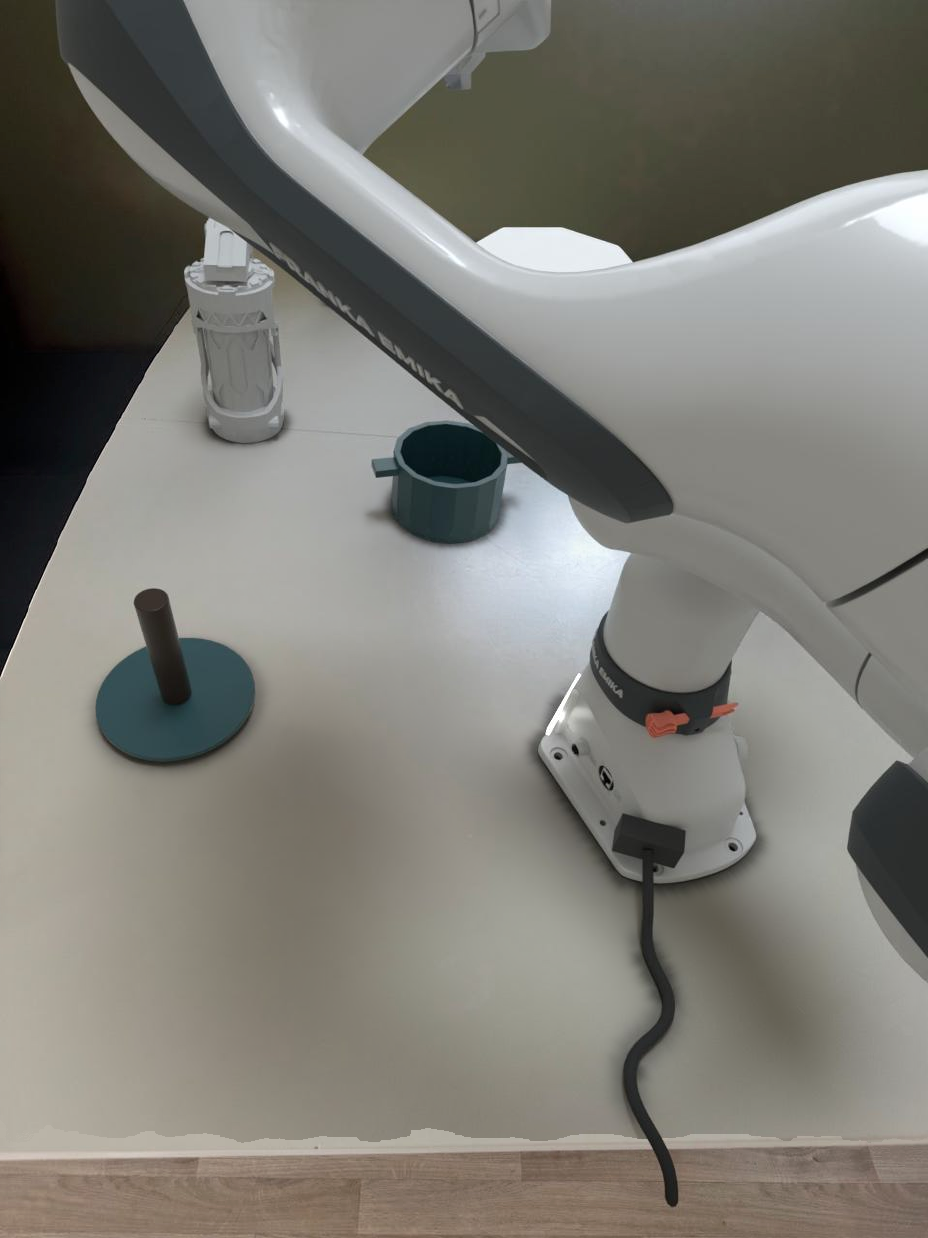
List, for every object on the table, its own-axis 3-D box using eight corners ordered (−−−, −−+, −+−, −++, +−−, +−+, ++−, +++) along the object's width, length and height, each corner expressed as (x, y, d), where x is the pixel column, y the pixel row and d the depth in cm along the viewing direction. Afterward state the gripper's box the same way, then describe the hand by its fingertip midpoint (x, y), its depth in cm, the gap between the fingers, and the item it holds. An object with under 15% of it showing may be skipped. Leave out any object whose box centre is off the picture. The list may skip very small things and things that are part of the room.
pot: (533, 533, 100) (544, 478, 94) (385, 552, 95) (386, 496, 89) (499, 468, 109) (507, 414, 103) (361, 483, 104) (361, 427, 98)
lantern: (285, 444, 108) (269, 258, 90) (205, 444, 106) (173, 254, 88) (286, 393, 117) (273, 213, 99) (213, 392, 115) (185, 209, 97)
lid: (264, 748, 75) (249, 649, 65) (98, 779, 71) (53, 680, 61) (246, 635, 84) (231, 533, 74) (98, 657, 80) (60, 553, 70)
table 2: (621, 424, 119) (650, 317, 107) (437, 393, 121) (446, 284, 108) (624, 337, 139) (650, 238, 127) (466, 310, 140) (476, 210, 128)
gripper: (86, -21, 35) (213, 146, 49) (553, -57, 33) (549, 127, 47) (81, -172, 35) (211, 39, 48) (554, -218, 33) (549, 15, 47)
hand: (380, 82), depth 48 cm, fingers open, 8 cm apart
